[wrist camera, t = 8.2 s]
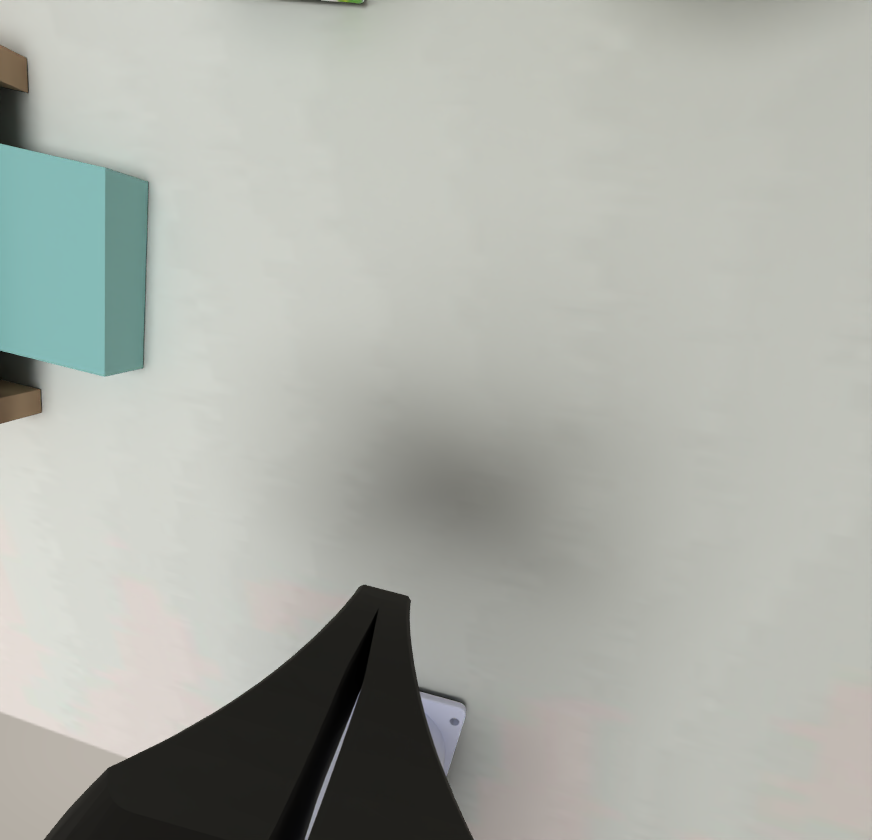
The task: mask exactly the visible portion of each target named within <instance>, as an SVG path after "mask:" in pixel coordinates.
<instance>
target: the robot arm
mask: <svg viewBox="0 0 872 840" xmlns="http://www.w3.org/2000/svg"><path fill="white" fill-rule="evenodd" d="M410 603H411V600H410V599H409V597H408V596H406V595H402V594H398V593H394V592H390V591H387V590H383V589H379V588H375V587H371V586H367V585H362V586H360V587H359V588H358V589H357V591H356V592H355V593H354V595H353V596H352V597H351V599H350V600H349V601H348V602H347V603H346V604H345V606H344V607H343V608H342V609H341V610H340V611H339V612H338V613H337V614H336V616H335V617H334V618H333V619H332V620H331V621H330V622H329V623H328V624H327V625H326V626H325V627H324V628H323V629H322V630H321V631H320V632H319V633H318V634H317V635H316V636H315V637H314V638H313V639H311V640H310V641H309V642H308V643H307V644H306V645H305V646H304V647H302V648H301V649H300V650H299V651H298V652H297V653H296V654H295V655H294V656H292V657H291V658H290V659H289V660H288V661H286V662H285V663H284V664H283V665H282V666H280V667H279V668H278V669H276V670H275V671H274V672H273V673H271V674H270V675H269V676H267V677H266V678H265V679H263V680H262V681H261V682H259V683H258V684H257V685H255V686H254V687H252V688H251V689H249V690H248V691H246V692H245V693H243V694H242V695H241V696H239V697H238V698H236V699H235V700H233V701H232V702H230V703H229V704H227V705H226V706H224V707H222V708H221V709H219V710H218V711H216V712H214V713H213V714H211V715H209V716H207V717H206V718H204V719H202V720H200V721H199V722H197V723H195V724H193V725H192V726H190V727H188V728H187V729H185V730H183V731H181V732H180V733H178V734H176V735H174V736H172V737H170V738H169V739H167V740H165V741H163V742H161V743H159V744H157V745H155V746H153V747H150V748H148V749H146V750H144V751H142V752H140V753H138V754H136V755H134V756H132V757H130V758H128V759H126V760H124V761H122V762H120V763H118V764H116V765H113V766H111V767H109V768H108V769H107V770H106V771H105V772H104V773H103V774H102V775H101V776H100V777H99V778H98V779H97V780H96V781H95V782H94V783H93V784H92V785H91V786H90V787H89V788H88V789H87V790H86V791H85V792H84V794H82V795H81V796H80V798H79V799H78V800H77V801H76V802H75V803H74V804H73V805H72V806H71V807H70V808H69V809H68V811H67V812H66V813H65V814H64V815H63V817H62V818H61V819H60V820H59V821H58V823H57V824H56V825H55V826H54V828H53V829H52V830H51V831H50V833H49V834H48V835H47V836H46V838H45V839H44V840H474V839H473V837H472V835H471V833H470V831H469V829H468V827H467V825H466V822H465V820H464V818H463V816H462V813H461V811H460V809H459V807H458V805H457V802H456V800H455V798H454V795H453V793H452V790H451V788H450V785H449V783H448V780H447V774H448V771H449V768H450V764H451V761H452V758H453V755H454V752H455V749H456V746H457V742H458V739H459V736H460V733H461V730H462V727H463V724H464V720H465V717H466V707H465V706H464V705H463V704H462V703H460V702H457V701H453V700H450V699H446V698H442V697H438V696H435V695H431V694H427V693H424V692H420V691H419V687H418V682H417V677H416V672H415V666H414V660H413V653H412V646H411V636H410ZM453 718H456V719H453Z"/></svg>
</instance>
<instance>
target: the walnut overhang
mask: <svg viewBox="0 0 872 840" xmlns="http://www.w3.org/2000/svg"><path fill="white" fill-rule="evenodd" d="M0 87H4V88H9V89H13V90H18V91H22V92H27V93H28V83H27V60H26V58H25V57H23V56H21V55H19V54H17V53H15V52H13V51H11V50H9V49H8V48H6V47H4V46H2V45H0ZM38 413H41V390H40V389H37V388H33V387H29V386H25V385H21V384H17V383H13V382H9V381H5V380H1V379H0V424H1V423H5V422H9V421H12V420H16V419H20V418H23V417H27V416H31V415H34V414H38Z"/></svg>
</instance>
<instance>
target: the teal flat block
mask: <svg viewBox="0 0 872 840" xmlns="http://www.w3.org/2000/svg"><path fill="white" fill-rule="evenodd" d="M147 208H148V182H147V181H144V180H141V179H138V178H135V177H132V176H129V175H126V174H123V173H120V172H117V171H113V170H110V169H107V168H104V167H100V166H95V165H91V164H87V163H82V162H78V161H74V160H69V159H65V158H60V157H56V156H52V155H47V154H43V153H39V152H34V151H30V150H26V149H21V148H17V147H13V146H8V145H4V144H0V351H4V352H8V353H12V354H16V355H20V356H24V357H28V358H32V359H36V360H40V361H44V362H48V363H52V364H56V365H60V366H64V367H68V368H72V369H76V370H80V371H84V372H88V373H92V374H96V375H100V376H104V377H105V376H110V375H114V374H119V373H123V372H128V371H132V370H137V369H141V368H143V346H144V311H145V277H146V242H147Z"/></svg>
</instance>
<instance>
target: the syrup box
mask: <svg viewBox="0 0 872 840" xmlns="http://www.w3.org/2000/svg"><path fill="white" fill-rule="evenodd" d="M323 1H335V2H353V3H357V4H360V3H363V2H364V0H323Z"/></svg>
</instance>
